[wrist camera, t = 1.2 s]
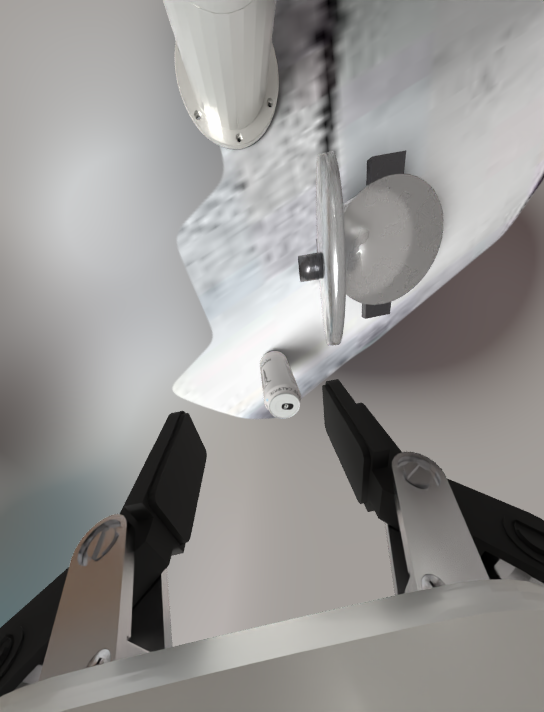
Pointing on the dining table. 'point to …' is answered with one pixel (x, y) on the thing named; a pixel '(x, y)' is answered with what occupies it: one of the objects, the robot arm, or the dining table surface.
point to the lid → (328, 248)
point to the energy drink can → (279, 385)
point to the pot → (389, 234)
